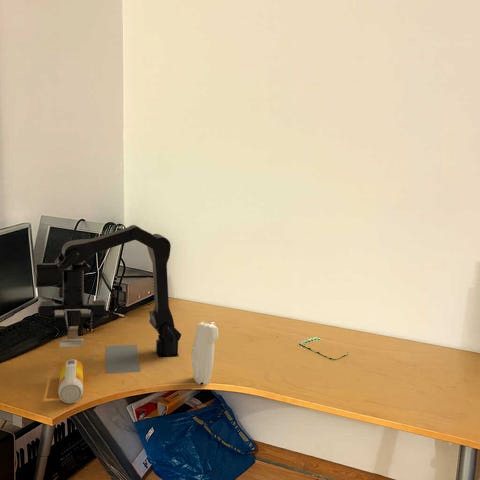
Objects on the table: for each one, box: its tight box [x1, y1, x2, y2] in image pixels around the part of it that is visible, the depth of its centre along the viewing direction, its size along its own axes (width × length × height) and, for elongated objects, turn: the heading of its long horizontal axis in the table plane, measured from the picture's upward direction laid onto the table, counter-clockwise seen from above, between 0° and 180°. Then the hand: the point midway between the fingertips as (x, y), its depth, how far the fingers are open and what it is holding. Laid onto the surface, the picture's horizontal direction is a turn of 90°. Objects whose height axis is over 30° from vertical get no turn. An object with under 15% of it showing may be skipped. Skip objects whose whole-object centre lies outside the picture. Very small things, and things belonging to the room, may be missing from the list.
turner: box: [59, 325, 84, 348], centre depth 146 cm, size 15×6×3 cm, turn 15°
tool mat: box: [105, 344, 141, 374], centre depth 156 cm, size 10×20×1 cm, turn 15°
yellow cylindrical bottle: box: [57, 359, 84, 404], centre depth 135 cm, size 6×6×15 cm
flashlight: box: [191, 321, 219, 386], centre depth 144 cm, size 7×18×7 cm
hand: (73, 335), depth 147 cm, fingers closed on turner, 3 cm apart
